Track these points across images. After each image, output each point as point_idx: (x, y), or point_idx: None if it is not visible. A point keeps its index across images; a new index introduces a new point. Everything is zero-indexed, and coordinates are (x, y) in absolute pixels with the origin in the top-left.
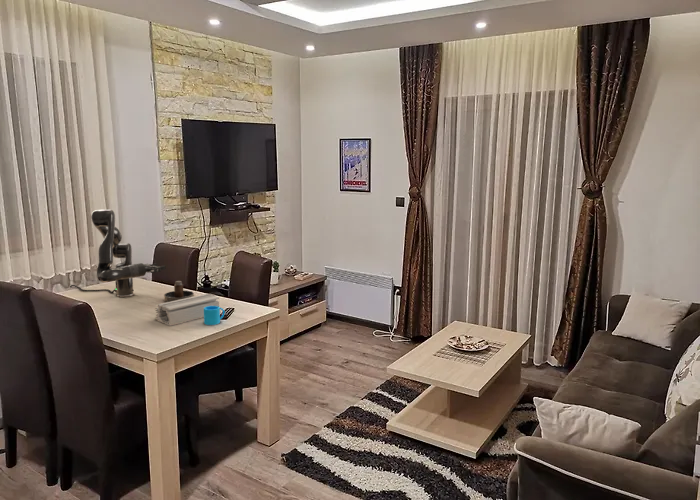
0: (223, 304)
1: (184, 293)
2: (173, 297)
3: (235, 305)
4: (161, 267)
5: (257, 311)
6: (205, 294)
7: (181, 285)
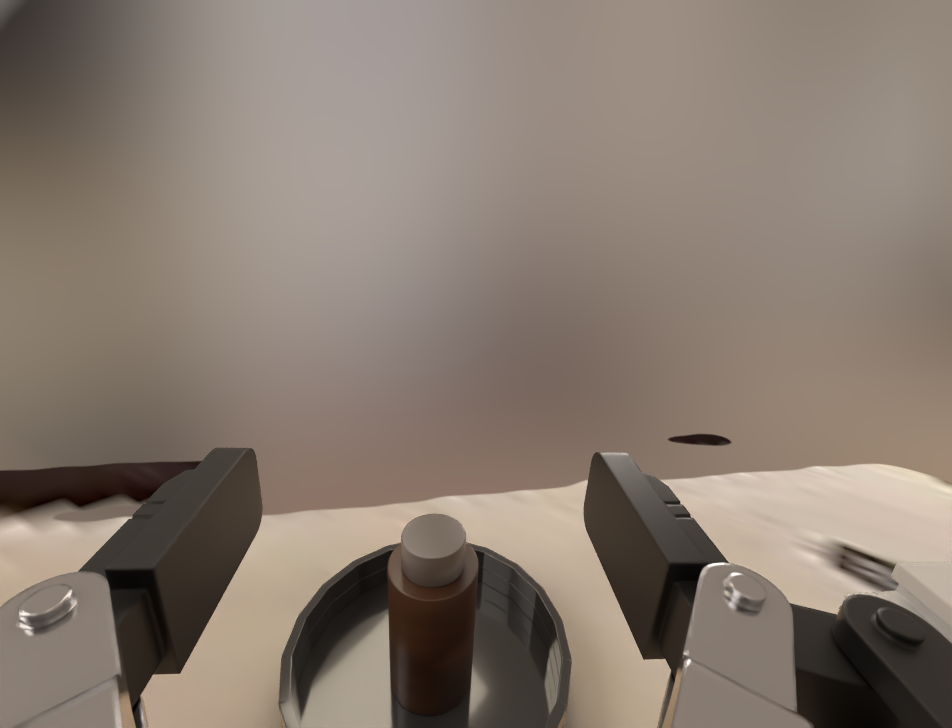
0: (731, 541)
1: (374, 575)
2: (346, 685)
3: (773, 516)
4: (719, 552)
5: (930, 510)
6: (940, 582)
7: (477, 559)
